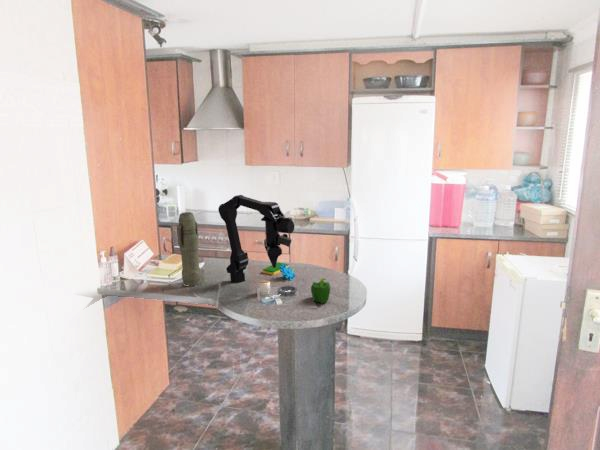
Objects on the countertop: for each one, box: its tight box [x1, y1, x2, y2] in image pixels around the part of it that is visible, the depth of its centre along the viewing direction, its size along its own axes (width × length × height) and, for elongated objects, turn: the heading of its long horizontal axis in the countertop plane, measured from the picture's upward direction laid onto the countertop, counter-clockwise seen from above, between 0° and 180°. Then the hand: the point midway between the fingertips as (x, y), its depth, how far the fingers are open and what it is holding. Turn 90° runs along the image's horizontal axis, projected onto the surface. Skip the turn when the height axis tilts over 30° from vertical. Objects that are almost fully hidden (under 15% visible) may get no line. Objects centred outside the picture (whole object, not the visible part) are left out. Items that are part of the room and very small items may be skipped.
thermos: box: [176, 211, 202, 287], centre depth 204 cm, size 9×12×35 cm
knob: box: [258, 280, 271, 295], centre depth 189 cm, size 5×5×6 cm
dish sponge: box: [262, 261, 290, 276], centre depth 224 cm, size 7×14×2 cm, turn 146°
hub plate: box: [256, 285, 300, 301], centre depth 190 cm, size 18×14×2 cm
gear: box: [279, 264, 296, 281], centre depth 209 cm, size 11×6×10 cm
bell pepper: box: [310, 277, 331, 304], centre depth 181 cm, size 8×8×10 cm
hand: (273, 264), depth 193 cm, fingers open, 9 cm apart
